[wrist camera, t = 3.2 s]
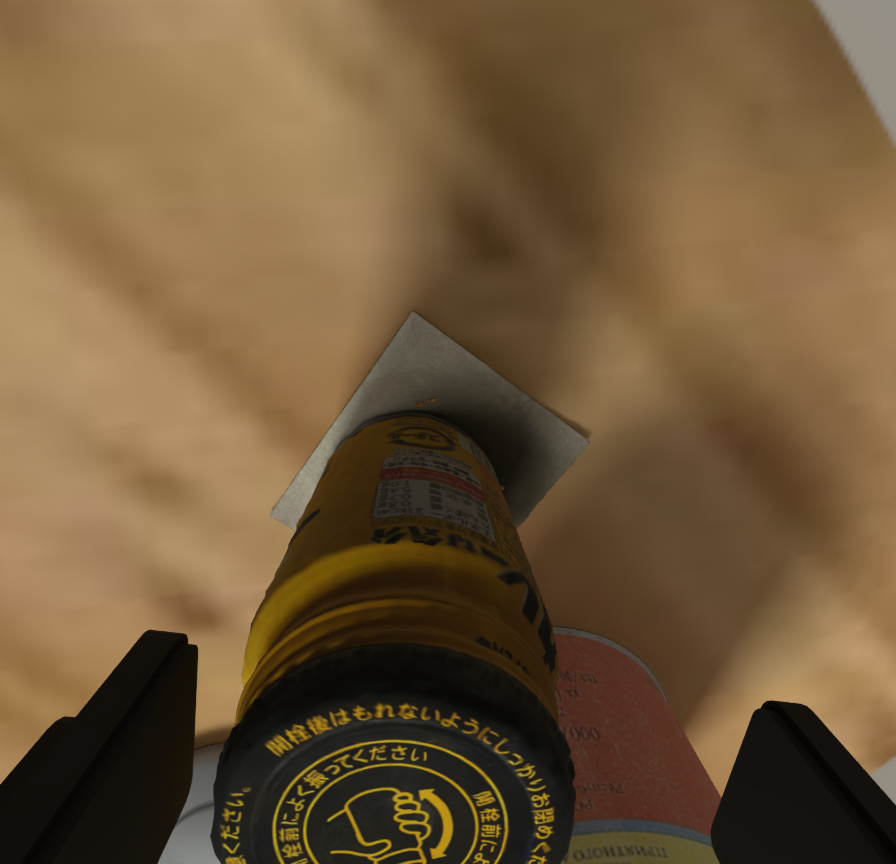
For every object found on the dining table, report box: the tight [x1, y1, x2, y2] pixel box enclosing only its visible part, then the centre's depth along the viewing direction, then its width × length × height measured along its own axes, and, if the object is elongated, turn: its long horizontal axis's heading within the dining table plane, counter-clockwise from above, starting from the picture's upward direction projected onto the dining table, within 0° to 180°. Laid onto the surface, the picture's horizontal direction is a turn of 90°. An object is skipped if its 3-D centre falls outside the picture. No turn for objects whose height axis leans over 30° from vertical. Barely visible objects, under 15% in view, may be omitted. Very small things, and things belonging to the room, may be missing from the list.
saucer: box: [158, 743, 224, 864], centre depth 22 cm, size 10×10×1 cm
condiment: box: [210, 311, 590, 864], centre depth 13 cm, size 7×8×12 cm
